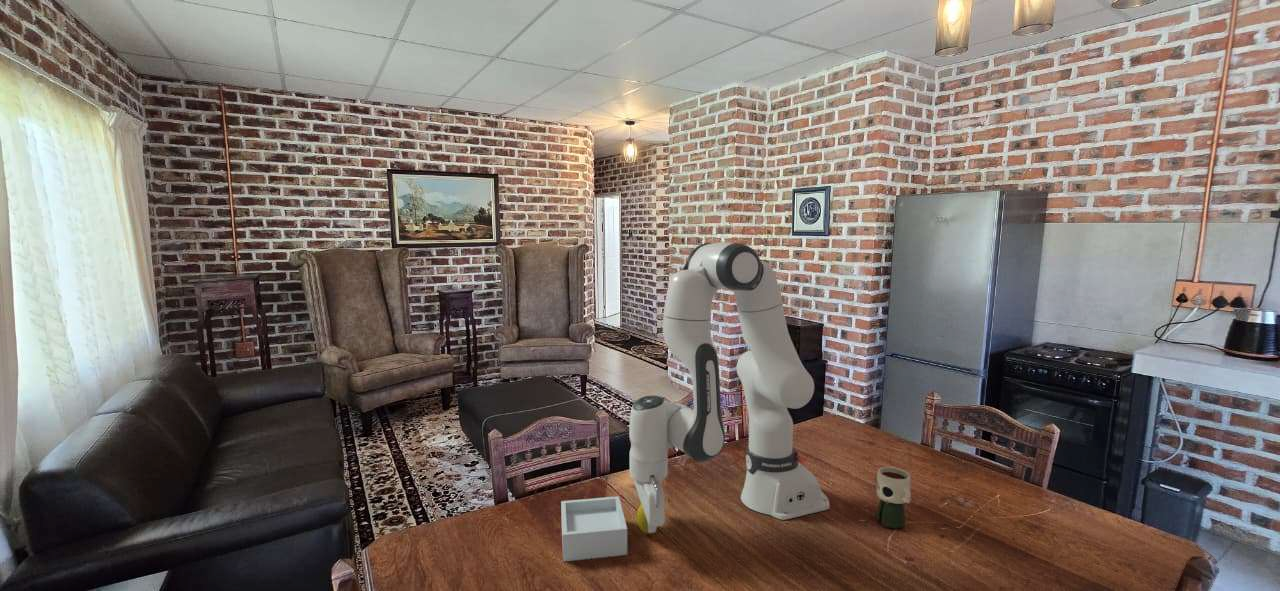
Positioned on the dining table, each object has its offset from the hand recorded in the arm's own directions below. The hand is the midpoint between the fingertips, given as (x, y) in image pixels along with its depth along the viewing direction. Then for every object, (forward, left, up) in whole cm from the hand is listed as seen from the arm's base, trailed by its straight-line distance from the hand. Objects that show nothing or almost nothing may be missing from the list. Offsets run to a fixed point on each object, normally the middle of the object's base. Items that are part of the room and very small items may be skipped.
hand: (648, 522), depth 122 cm
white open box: (+13, 0, -3) cm, 13 cm away
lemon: (0, 0, -3) cm, 3 cm away
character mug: (-59, +6, -3) cm, 59 cm away
